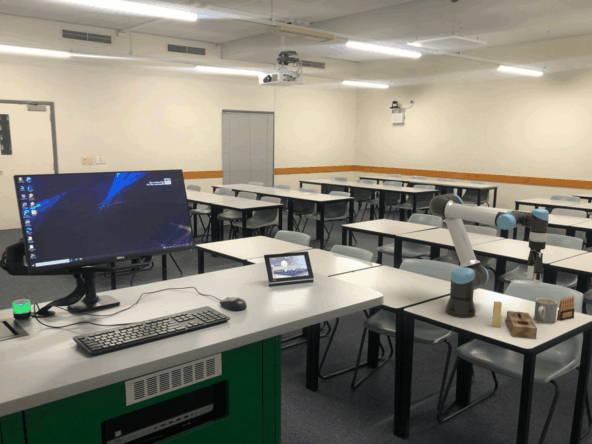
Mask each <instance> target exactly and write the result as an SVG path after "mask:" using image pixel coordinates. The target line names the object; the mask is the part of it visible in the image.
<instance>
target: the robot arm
mask: <svg viewBox="0 0 592 444" xmlns="http://www.w3.org/2000/svg"><path fill="white" fill-rule="evenodd" d="M429 210H430V213H431V214H432V215H433V216H436V217H439V218H441V220H442V222H444V223H445V224H446V227H447V229H448V232H449V234H450V237H451V240H452V243H453V246H454V248H455V249H454V250H455V251H456V255H457V257H458V259H459V263H460V265H459V267H456V268H454V269H453V270H452V271H451V274H450V290H449V292H450V293H449V299H448V302H447V303H446V305H445V313H447V314H448V315H449V316H453V317H456V318H473V317H475V316H476V314H477V311H476V310H477V309H476V307H475V302H474V294H475V293H474V291H475V290H477V289H480V288H483V287H484V286H485V285H487V283H488V282H489V277H490V276H489V275H490V274H489V272H488V270H487V268H485V267H484V266H483V265H482V263H481V261H480V260H478V259H477V257H476V254H475V252H474V248H473V246H472V244H471V240H470V237H469V235H468V232H467V230H466V226H465V224H464V221H469V222H474V223H478V224H483V225H487V226H488V225H489V226H493V227H498V228H500V229H501V230H503V231H504V230H507V231H509V230H511V229H514V228H517V227H525V228H530V230H529V236H528V239H529V240H528V248H529V253H528V257H527V261H526V263H527V272H526V278H527V279H530V280H532V279H533V287H540V286H541V278H542V277H541V276H542V274H543V273H544V269H543V267H544V266H543V265H544V263H543V257H544V253H543V252H541V251H542V250H545V249H546V243H547V242H546V241H547V237H548V235H549V234H548V228H549V226H548V225H549V221H550V219H549V217H550V212H549V210H547V209H544V208H534V209H532V211H531V212H528V211H521V210H517V209H516V210H515V209H514V210H513V209H510V210H507V212H504V211H499V210H493V209H488V208H484V207H478V206H474V205H473V206H472V205H468V204H467V205H466V204H464V202H463V199H461V197H460V196H459V195H457V194H454V193H447V194H440V195H435V196H434V197H433V198H431V200H430V202H429ZM534 269H535V271H534Z"/></svg>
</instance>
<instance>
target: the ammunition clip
mask: <svg viewBox="0 0 592 444" xmlns="http://www.w3.org/2000/svg"><path fill="white" fill-rule="evenodd" d="M559 301H560V302H559V305H558V309H557V314H556V321H560V322H562V321H566V320H567V321H568V320H571V319H574V317H575V295H570V296H565V297H564V296H563V297H561V298H560V300H559Z"/></svg>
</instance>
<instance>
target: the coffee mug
mask: <svg viewBox="0 0 592 444" xmlns="http://www.w3.org/2000/svg"><path fill="white" fill-rule="evenodd" d="M557 314H558V301H556V300H554V299H551V298H543V297H539V298H535V305H534V315H533V319H534V321H536V322H539V323H543V324H555V323H556V321H557Z"/></svg>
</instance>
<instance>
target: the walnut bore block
mask: <svg viewBox="0 0 592 444" xmlns="http://www.w3.org/2000/svg"><path fill="white" fill-rule="evenodd" d="M506 323H507V326H508V328H509V330H510V332H511V336H512V337H515V338H525V339H537V331H538V327H537V326H536V324H535V322H534V320H533V319H532V317H531V315H530V313H529V312H525V311H524V312H522V311H512V310H507V311H506Z"/></svg>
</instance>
